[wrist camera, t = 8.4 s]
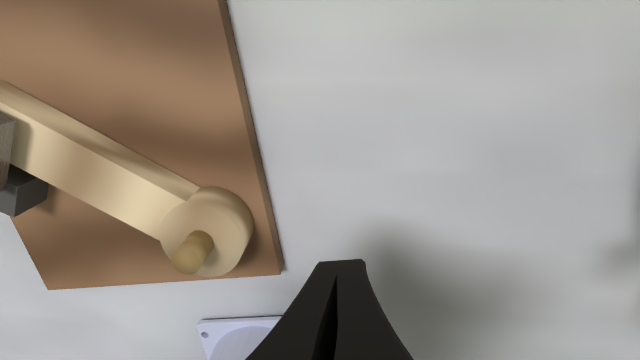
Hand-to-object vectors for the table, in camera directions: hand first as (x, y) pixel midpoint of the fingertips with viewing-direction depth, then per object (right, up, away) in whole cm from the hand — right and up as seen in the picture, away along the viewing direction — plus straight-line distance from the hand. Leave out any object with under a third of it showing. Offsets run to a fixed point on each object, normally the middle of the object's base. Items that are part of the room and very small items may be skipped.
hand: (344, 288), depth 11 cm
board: (-12, +5, +10) cm, 17 cm away
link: (-11, +3, +10) cm, 15 cm away
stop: (-17, +3, +10) cm, 21 cm away
